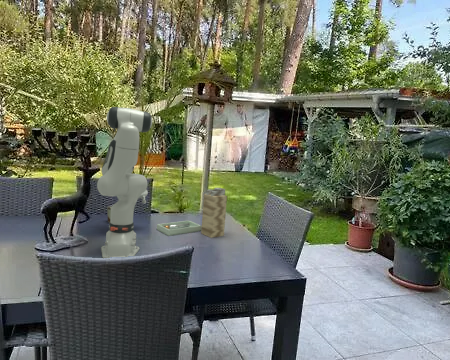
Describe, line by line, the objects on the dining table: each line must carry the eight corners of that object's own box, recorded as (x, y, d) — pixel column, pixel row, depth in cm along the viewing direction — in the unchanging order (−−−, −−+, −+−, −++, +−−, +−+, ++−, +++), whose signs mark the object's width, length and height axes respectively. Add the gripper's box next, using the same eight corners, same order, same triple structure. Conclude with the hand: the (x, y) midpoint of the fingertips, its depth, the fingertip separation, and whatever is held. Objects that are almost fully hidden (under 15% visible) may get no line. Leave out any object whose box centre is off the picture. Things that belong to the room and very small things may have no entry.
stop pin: (165, 225, 225) (163, 226, 226) (165, 229, 224) (163, 230, 226) (189, 222, 236) (187, 223, 238) (190, 226, 236) (188, 227, 237)
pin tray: (168, 236, 217) (168, 230, 216) (156, 229, 227) (156, 224, 227) (201, 231, 232) (201, 225, 232) (188, 225, 243) (189, 220, 242)
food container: (125, 224, 233) (125, 209, 232) (116, 225, 229) (117, 210, 227) (114, 220, 241) (115, 205, 240) (106, 221, 237) (106, 206, 236)
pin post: (211, 237, 220) (214, 190, 216) (201, 233, 227) (204, 187, 223) (223, 235, 226) (227, 189, 222) (213, 231, 234) (217, 186, 230)
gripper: (115, 185, 208) (127, 204, 204) (142, 180, 225) (154, 198, 221) (110, 191, 211) (122, 211, 208) (137, 186, 228) (148, 204, 224)
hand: (139, 204), depth 215 cm, fingers open, 8 cm apart
